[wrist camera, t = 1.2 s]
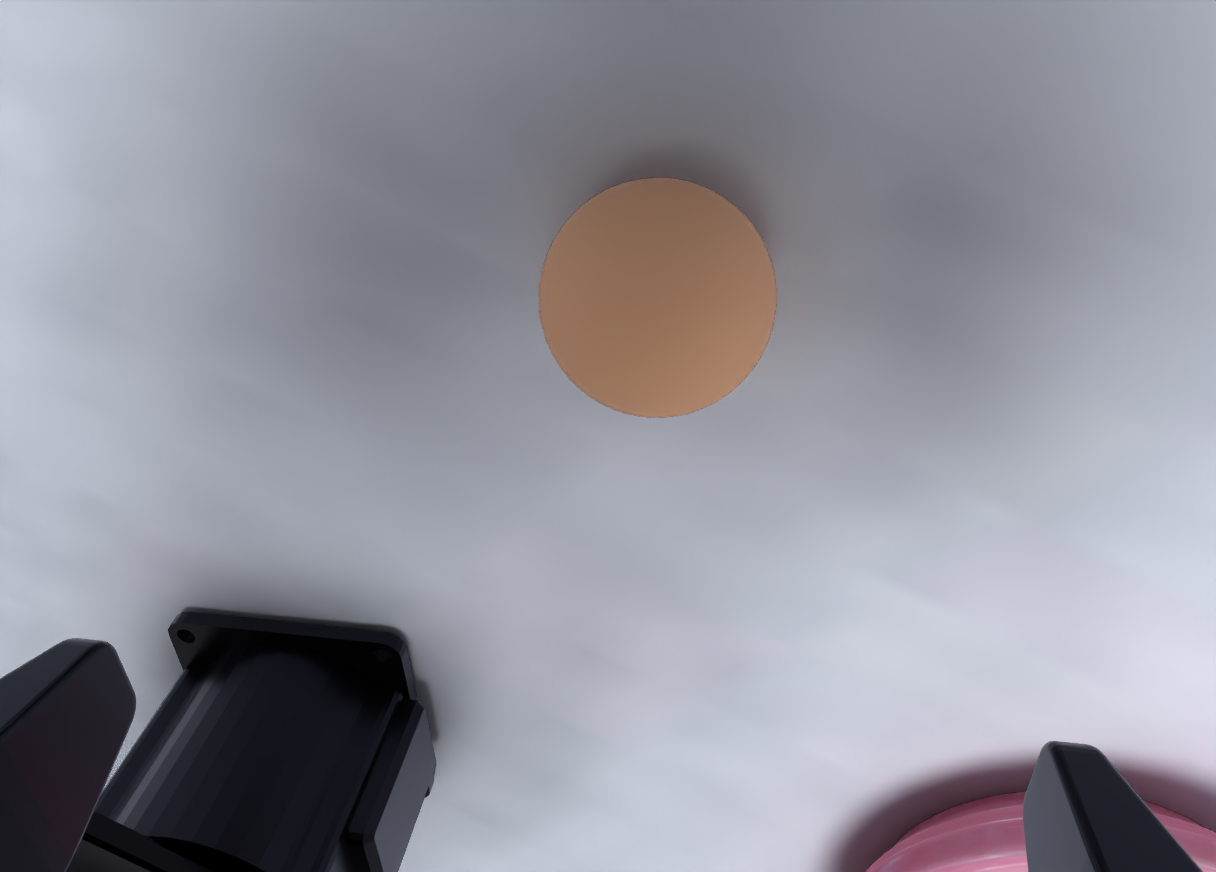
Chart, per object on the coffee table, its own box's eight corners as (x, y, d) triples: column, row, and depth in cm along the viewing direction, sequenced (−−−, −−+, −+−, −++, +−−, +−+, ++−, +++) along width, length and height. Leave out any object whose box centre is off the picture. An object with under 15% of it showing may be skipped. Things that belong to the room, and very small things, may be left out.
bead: (569, 340, 19) (524, 455, 16) (558, 142, 17) (502, 230, 14) (770, 350, 19) (765, 473, 15) (786, 147, 16) (785, 239, 13)
